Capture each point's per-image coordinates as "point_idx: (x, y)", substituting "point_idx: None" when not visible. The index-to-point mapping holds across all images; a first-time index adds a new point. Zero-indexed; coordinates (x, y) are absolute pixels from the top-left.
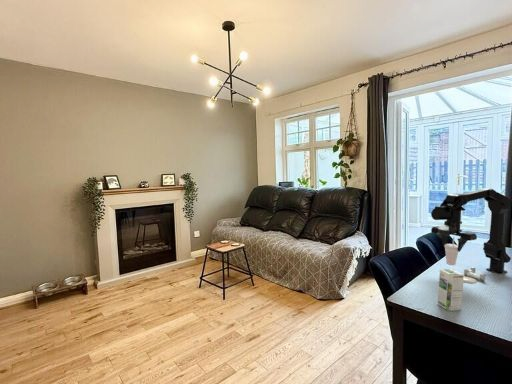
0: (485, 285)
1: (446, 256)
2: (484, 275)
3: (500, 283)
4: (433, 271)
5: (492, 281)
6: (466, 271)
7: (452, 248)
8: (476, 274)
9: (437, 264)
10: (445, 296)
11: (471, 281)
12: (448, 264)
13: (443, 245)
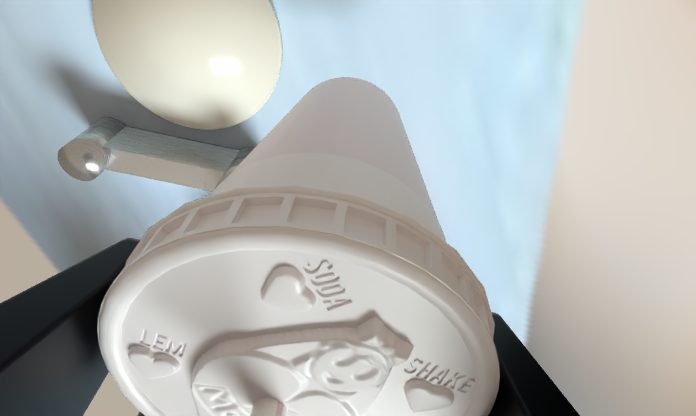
0: (22, 30)
1: (395, 135)
2: (58, 156)
3: (30, 186)
4: (525, 12)
5: (78, 185)
6: (229, 172)
7: (197, 214)
8: (144, 167)
9: (532, 261)
10: None
11: (117, 4)
12: (359, 79)
13: (525, 356)
